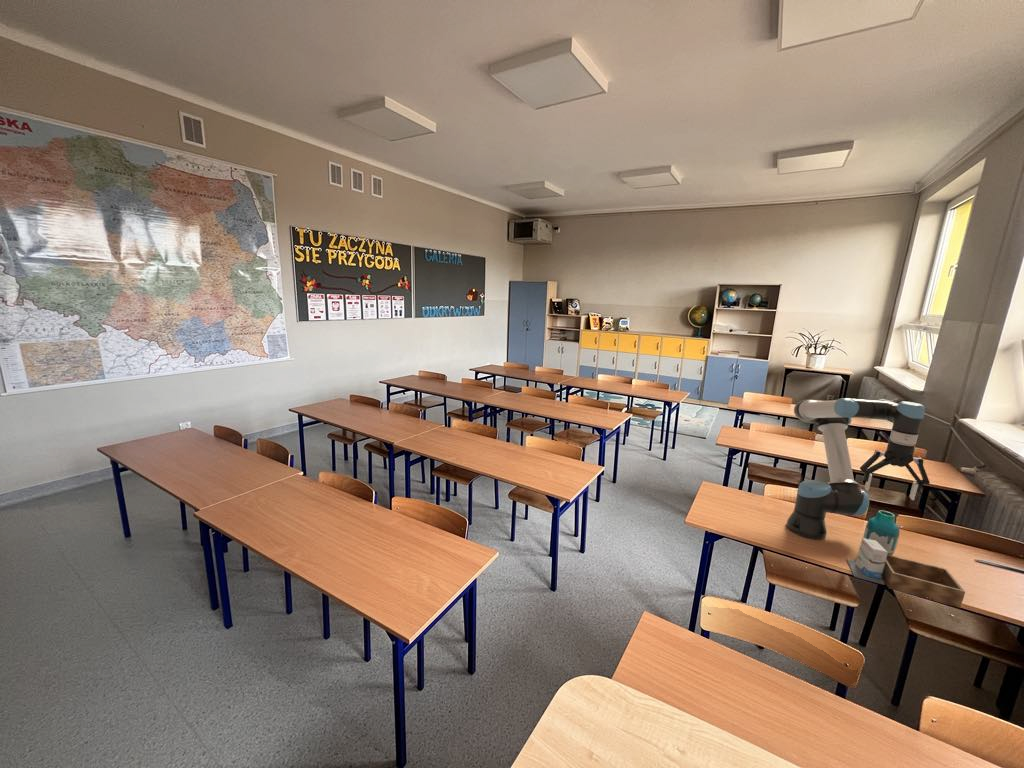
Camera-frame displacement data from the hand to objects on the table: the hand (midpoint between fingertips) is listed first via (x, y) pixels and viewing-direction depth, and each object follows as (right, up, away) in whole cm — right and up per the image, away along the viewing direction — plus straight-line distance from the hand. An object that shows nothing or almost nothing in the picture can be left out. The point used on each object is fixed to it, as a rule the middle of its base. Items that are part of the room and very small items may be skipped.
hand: (888, 493), depth 163 cm
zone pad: (-8, -31, +1) cm, 32 cm away
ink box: (-7, -31, +1) cm, 32 cm away
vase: (+7, -29, +14) cm, 33 cm away
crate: (+5, -33, -6) cm, 34 cm away
